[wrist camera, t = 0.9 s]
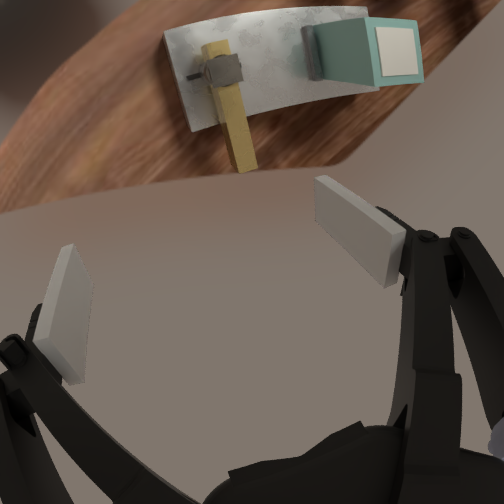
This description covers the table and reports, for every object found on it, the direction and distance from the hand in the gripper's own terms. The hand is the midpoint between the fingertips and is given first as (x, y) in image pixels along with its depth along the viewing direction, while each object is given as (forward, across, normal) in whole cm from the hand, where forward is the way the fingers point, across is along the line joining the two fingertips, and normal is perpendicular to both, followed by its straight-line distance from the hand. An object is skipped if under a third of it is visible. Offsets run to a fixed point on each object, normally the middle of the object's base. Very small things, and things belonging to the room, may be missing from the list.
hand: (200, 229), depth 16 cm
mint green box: (+20, +22, +9) cm, 31 cm away
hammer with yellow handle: (+20, +6, +4) cm, 21 cm away
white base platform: (+25, +15, +8) cm, 30 cm away
